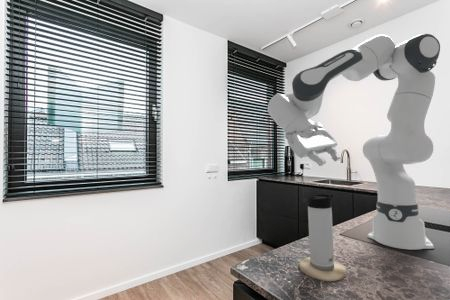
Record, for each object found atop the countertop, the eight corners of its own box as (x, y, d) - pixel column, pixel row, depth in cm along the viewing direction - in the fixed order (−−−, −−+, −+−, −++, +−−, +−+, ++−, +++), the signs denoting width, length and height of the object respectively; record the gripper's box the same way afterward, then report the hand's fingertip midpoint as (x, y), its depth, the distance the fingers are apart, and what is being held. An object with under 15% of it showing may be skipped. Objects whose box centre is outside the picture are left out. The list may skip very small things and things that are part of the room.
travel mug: (338, 271, 61) (335, 196, 62) (312, 270, 63) (309, 196, 63) (331, 261, 68) (328, 192, 68) (308, 260, 69) (305, 192, 69)
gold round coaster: (308, 256, 73) (308, 253, 73) (350, 267, 66) (350, 263, 66) (292, 271, 64) (292, 268, 64) (339, 286, 56) (339, 282, 56)
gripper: (288, 125, 69) (320, 160, 62) (322, 122, 81) (352, 151, 75) (276, 140, 72) (306, 174, 66) (311, 135, 85) (338, 163, 79)
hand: (331, 162), depth 70 cm, fingers open, 8 cm apart
